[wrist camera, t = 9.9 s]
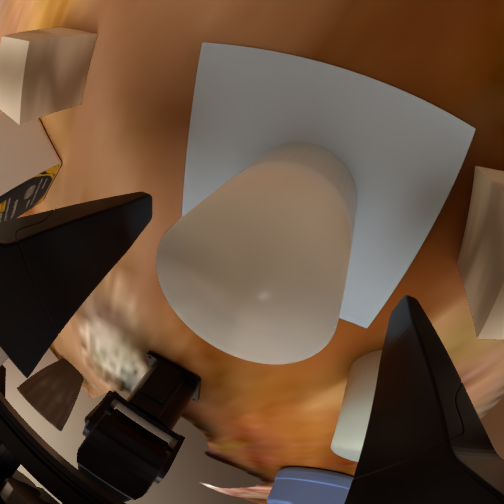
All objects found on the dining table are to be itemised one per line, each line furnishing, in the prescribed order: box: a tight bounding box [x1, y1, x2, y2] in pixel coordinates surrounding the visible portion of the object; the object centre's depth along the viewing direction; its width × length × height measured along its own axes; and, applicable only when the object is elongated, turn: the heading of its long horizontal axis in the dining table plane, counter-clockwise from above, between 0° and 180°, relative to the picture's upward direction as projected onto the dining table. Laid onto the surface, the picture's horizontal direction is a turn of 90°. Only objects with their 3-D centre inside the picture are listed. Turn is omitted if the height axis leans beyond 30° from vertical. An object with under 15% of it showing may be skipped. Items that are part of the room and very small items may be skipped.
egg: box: [156, 142, 358, 364], centre depth 10 cm, size 5×5×7 cm
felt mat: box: [182, 42, 476, 328], centre depth 13 cm, size 12×12×1 cm
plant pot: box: [17, 359, 83, 431], centre depth 52 cm, size 15×15×16 cm
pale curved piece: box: [331, 350, 382, 462], centre depth 15 cm, size 6×6×6 cm
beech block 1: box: [0, 27, 98, 125], centre depth 11 cm, size 5×5×5 cm
